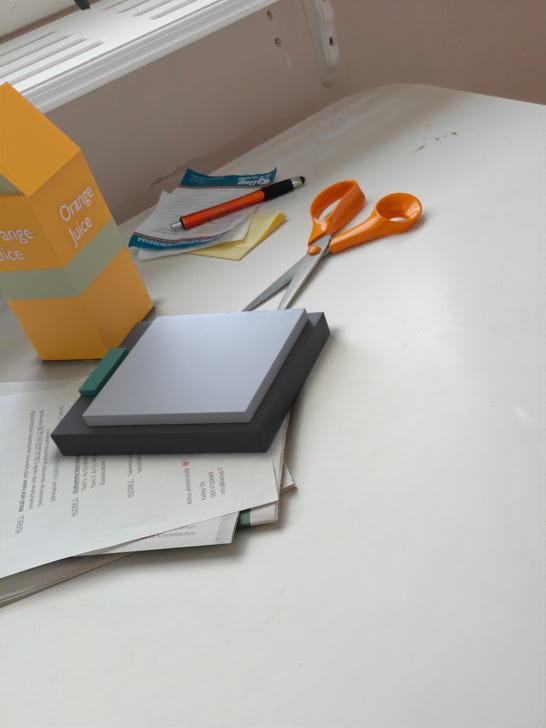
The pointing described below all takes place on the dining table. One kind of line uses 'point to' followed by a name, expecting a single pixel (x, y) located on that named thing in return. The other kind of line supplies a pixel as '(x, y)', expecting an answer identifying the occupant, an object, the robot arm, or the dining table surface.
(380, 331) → the dining table surface
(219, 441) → the scale
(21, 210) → the orange juice
